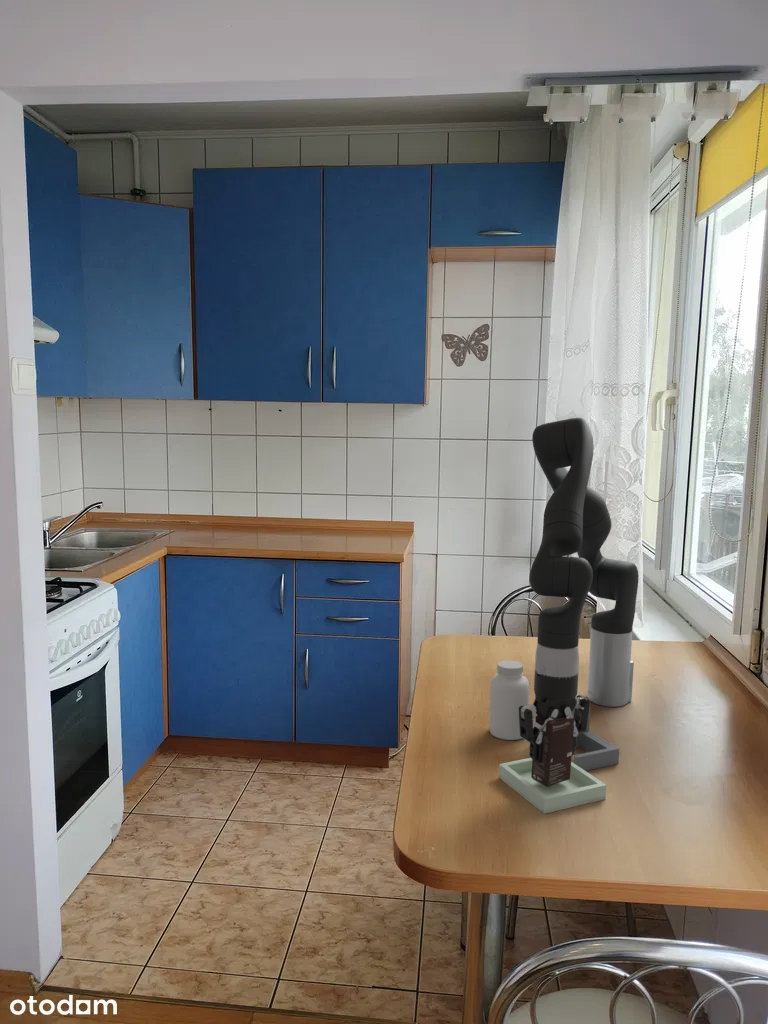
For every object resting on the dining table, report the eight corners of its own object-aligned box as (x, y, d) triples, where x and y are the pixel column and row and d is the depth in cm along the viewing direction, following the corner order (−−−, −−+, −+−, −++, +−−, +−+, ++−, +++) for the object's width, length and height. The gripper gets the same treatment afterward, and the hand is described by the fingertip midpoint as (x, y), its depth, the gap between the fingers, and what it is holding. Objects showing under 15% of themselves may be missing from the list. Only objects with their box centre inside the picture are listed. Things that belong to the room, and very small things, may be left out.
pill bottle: (481, 728, 167) (484, 660, 165) (514, 723, 170) (516, 656, 168) (501, 743, 160) (504, 672, 157) (535, 737, 163) (538, 667, 161)
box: (548, 789, 138) (551, 723, 136) (530, 778, 142) (533, 714, 140) (572, 780, 141) (576, 716, 140) (554, 770, 145) (557, 707, 143)
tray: (556, 765, 150) (557, 752, 150) (605, 799, 138) (606, 785, 137) (498, 777, 145) (499, 764, 145) (543, 813, 133) (544, 799, 132)
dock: (575, 737, 163) (578, 692, 162) (618, 763, 152) (621, 715, 150) (535, 744, 159) (537, 699, 158) (576, 772, 147) (578, 723, 146)
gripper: (576, 656, 145) (571, 742, 147) (510, 666, 139) (506, 756, 141) (603, 669, 138) (598, 759, 140) (535, 680, 132) (530, 774, 135)
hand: (552, 757), depth 141 cm, fingers closed on box, 6 cm apart
